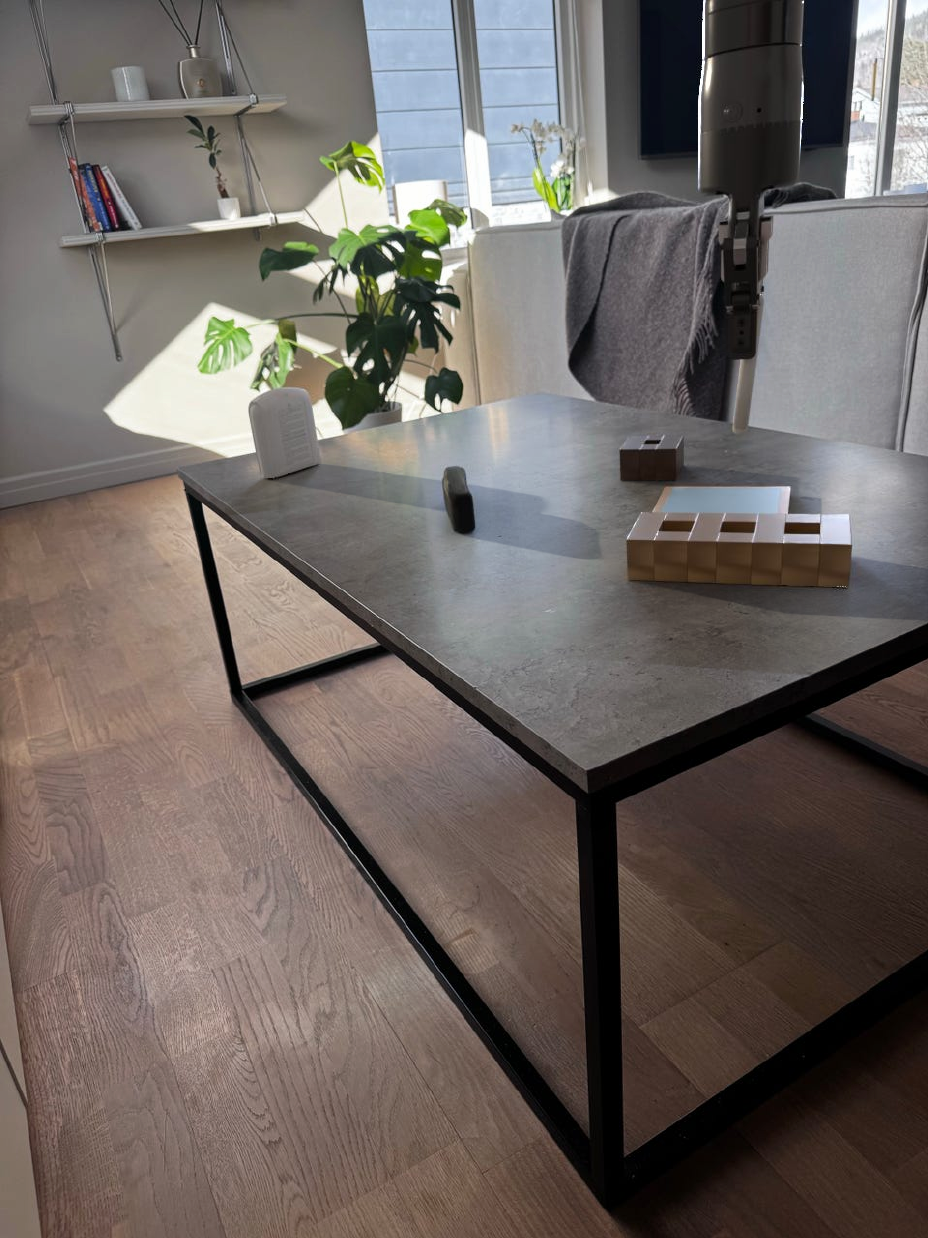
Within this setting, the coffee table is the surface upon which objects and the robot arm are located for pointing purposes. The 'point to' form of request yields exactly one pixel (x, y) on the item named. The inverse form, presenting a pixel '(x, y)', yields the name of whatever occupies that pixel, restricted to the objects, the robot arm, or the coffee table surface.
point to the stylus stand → (652, 457)
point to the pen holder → (741, 548)
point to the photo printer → (284, 431)
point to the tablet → (724, 500)
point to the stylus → (746, 384)
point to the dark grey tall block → (458, 499)
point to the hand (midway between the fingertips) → (742, 355)
